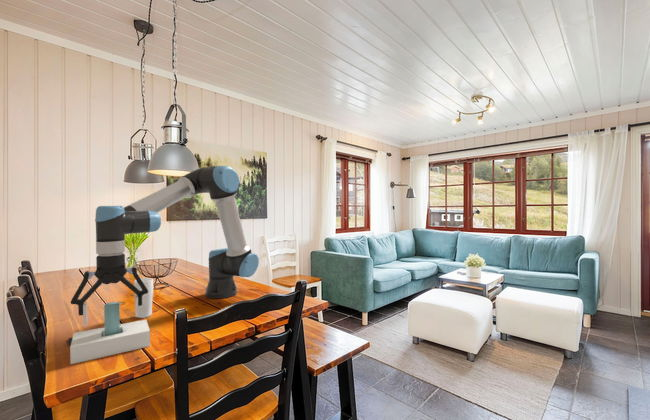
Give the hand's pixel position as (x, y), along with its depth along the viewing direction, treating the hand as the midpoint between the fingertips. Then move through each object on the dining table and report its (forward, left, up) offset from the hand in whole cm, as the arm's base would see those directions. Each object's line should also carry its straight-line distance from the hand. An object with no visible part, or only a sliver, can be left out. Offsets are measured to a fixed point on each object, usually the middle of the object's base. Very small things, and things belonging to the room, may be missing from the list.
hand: (112, 320), depth 100 cm
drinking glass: (-11, -26, -9) cm, 30 cm away
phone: (+5, -13, -9) cm, 17 cm away
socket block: (0, 0, -9) cm, 9 cm away
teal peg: (0, 0, -9) cm, 9 cm away
